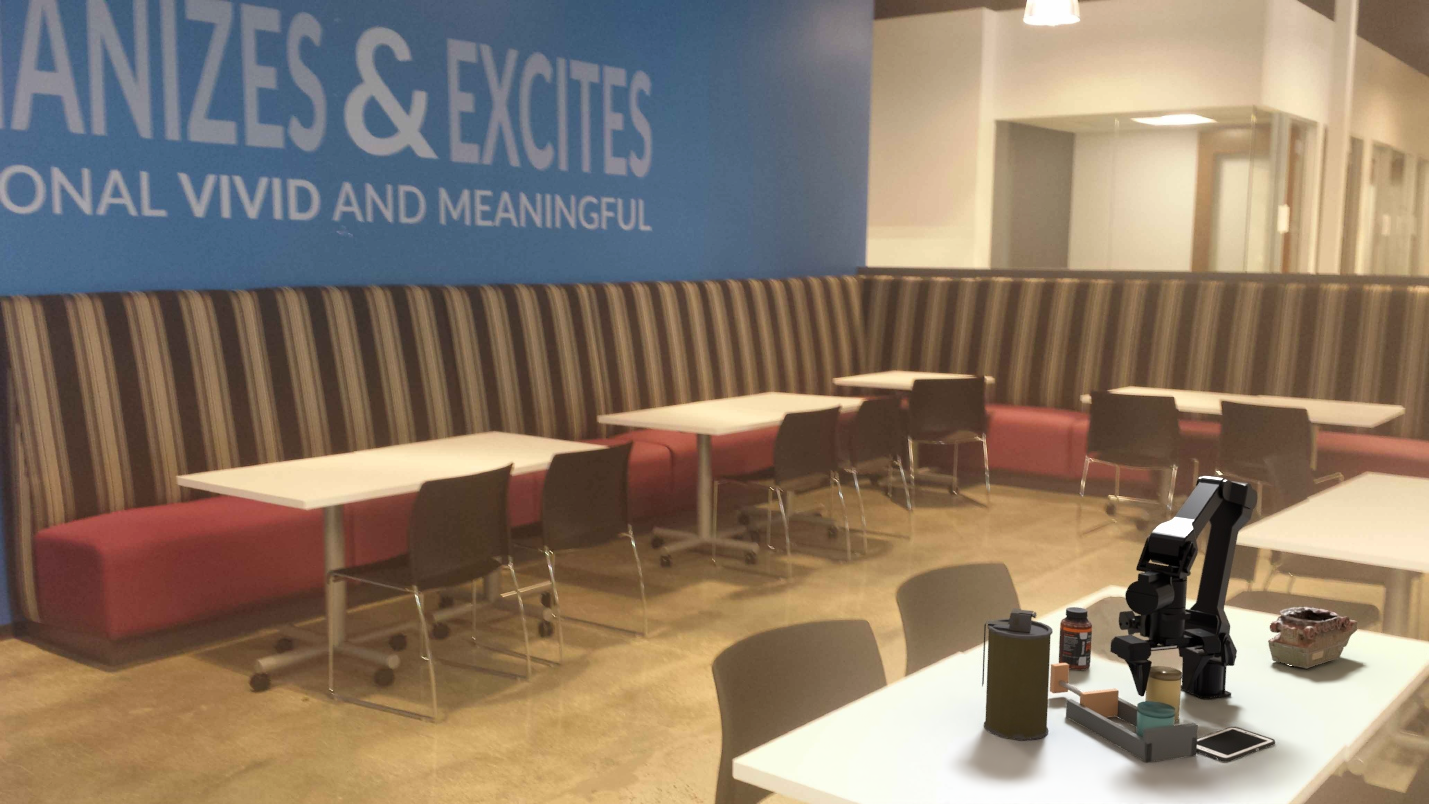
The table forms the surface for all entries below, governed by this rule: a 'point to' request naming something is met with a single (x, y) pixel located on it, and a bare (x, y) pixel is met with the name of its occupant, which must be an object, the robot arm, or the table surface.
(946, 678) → the table surface
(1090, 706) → the pusher
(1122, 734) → the lane
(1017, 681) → the canister
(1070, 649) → the supplement bottle
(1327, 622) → the decorative box
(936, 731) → the table surface
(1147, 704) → the jar
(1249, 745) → the cell phone
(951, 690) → the table surface
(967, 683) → the table surface
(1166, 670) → the ochre jar
